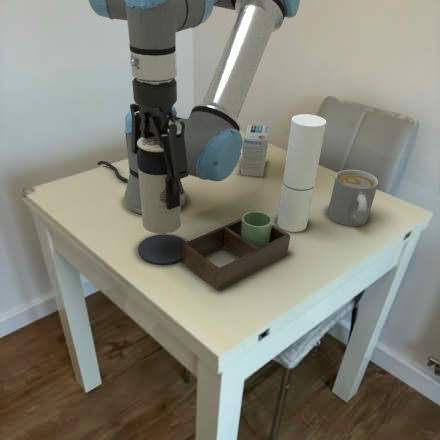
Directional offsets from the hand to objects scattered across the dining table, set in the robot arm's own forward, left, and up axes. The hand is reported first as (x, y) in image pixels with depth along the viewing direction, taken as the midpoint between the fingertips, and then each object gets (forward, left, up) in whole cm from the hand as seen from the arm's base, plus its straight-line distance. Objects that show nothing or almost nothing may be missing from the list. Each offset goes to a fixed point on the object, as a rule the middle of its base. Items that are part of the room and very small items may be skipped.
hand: (160, 198), depth 91 cm
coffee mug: (+17, +44, -13) cm, 49 cm away
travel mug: (0, 0, -6) cm, 6 cm away
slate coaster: (0, 0, -13) cm, 13 cm away
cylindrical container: (+10, +31, -13) cm, 35 cm away
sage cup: (+12, +16, -13) cm, 24 cm away
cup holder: (+12, +11, -13) cm, 21 cm away
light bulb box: (-18, +45, -13) cm, 50 cm away
